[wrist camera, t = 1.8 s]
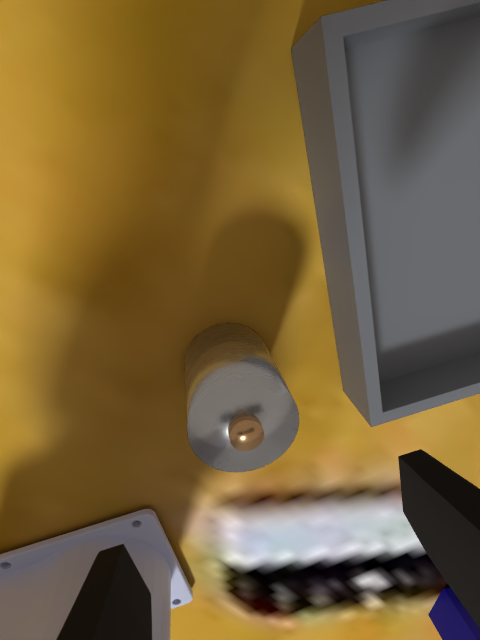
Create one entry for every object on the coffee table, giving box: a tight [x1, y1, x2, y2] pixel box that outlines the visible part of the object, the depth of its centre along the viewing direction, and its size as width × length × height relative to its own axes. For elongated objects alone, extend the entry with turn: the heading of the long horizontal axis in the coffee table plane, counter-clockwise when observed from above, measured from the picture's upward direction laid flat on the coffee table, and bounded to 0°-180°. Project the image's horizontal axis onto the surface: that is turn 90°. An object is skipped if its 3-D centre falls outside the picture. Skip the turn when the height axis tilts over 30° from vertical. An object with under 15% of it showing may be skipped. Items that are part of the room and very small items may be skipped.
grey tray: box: [291, 0, 480, 427], centre depth 15 cm, size 11×15×3 cm
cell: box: [185, 323, 299, 472], centre depth 15 cm, size 4×4×6 cm
